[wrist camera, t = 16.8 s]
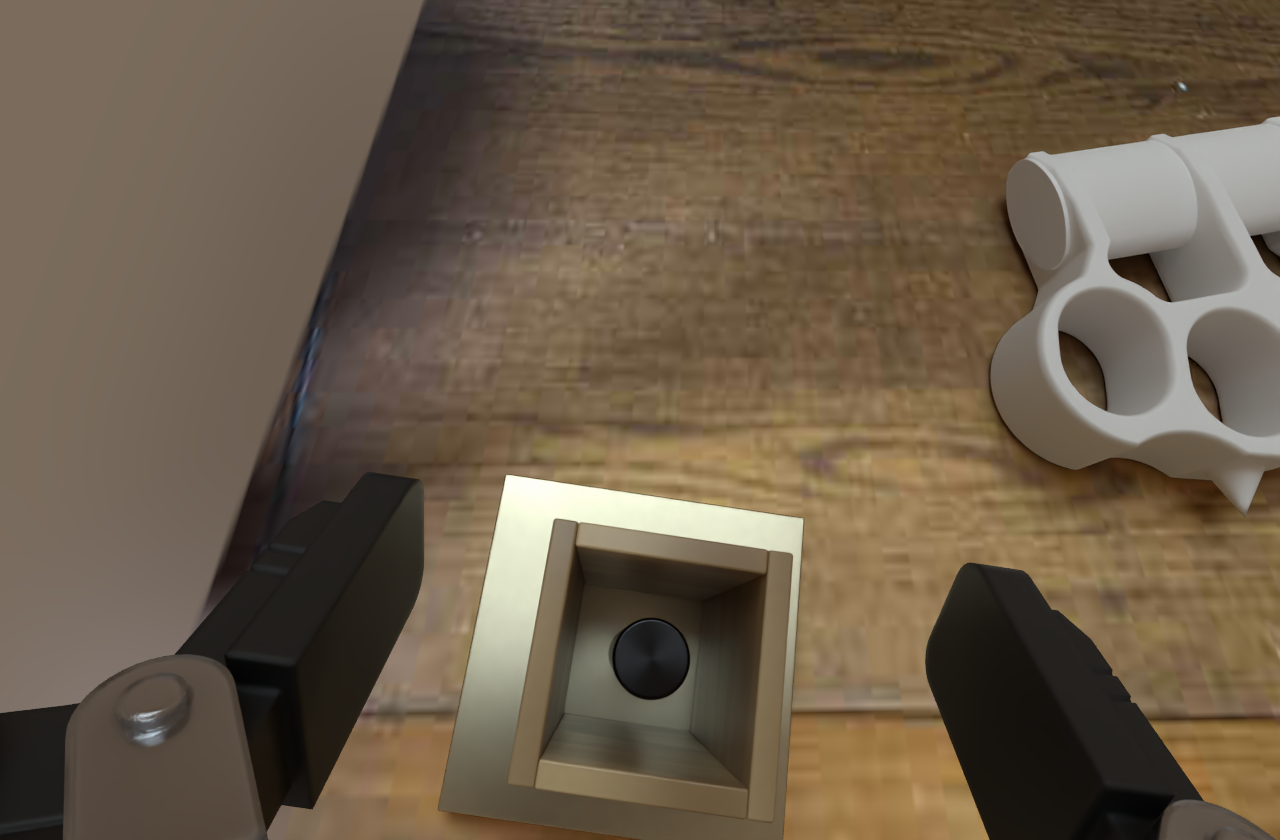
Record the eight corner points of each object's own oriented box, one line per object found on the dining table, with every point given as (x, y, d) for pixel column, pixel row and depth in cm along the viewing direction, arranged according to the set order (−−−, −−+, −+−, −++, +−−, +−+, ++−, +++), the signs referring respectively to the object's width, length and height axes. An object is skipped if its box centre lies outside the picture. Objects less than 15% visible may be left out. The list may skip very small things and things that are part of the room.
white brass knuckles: (1304, 143, 31) (1486, 463, 27) (917, 201, 29) (1049, 558, 25) (1385, 85, 28) (1608, 439, 23) (957, 146, 26) (1116, 545, 21)
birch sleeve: (544, 728, 21) (505, 785, 12) (571, 566, 22) (553, 517, 14) (704, 751, 21) (774, 824, 12) (720, 587, 22) (794, 552, 14)
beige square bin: (445, 802, 21) (341, 907, 13) (509, 481, 24) (460, 393, 16) (772, 849, 21) (887, 985, 13) (795, 523, 24) (900, 459, 16)
